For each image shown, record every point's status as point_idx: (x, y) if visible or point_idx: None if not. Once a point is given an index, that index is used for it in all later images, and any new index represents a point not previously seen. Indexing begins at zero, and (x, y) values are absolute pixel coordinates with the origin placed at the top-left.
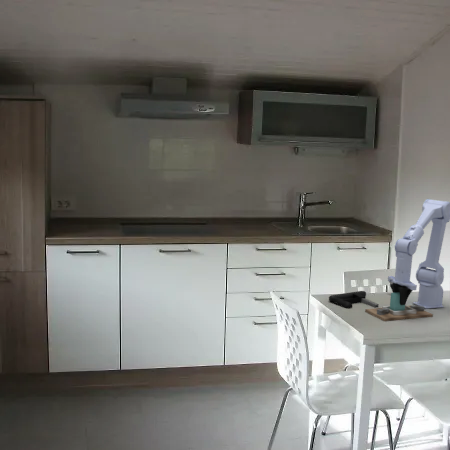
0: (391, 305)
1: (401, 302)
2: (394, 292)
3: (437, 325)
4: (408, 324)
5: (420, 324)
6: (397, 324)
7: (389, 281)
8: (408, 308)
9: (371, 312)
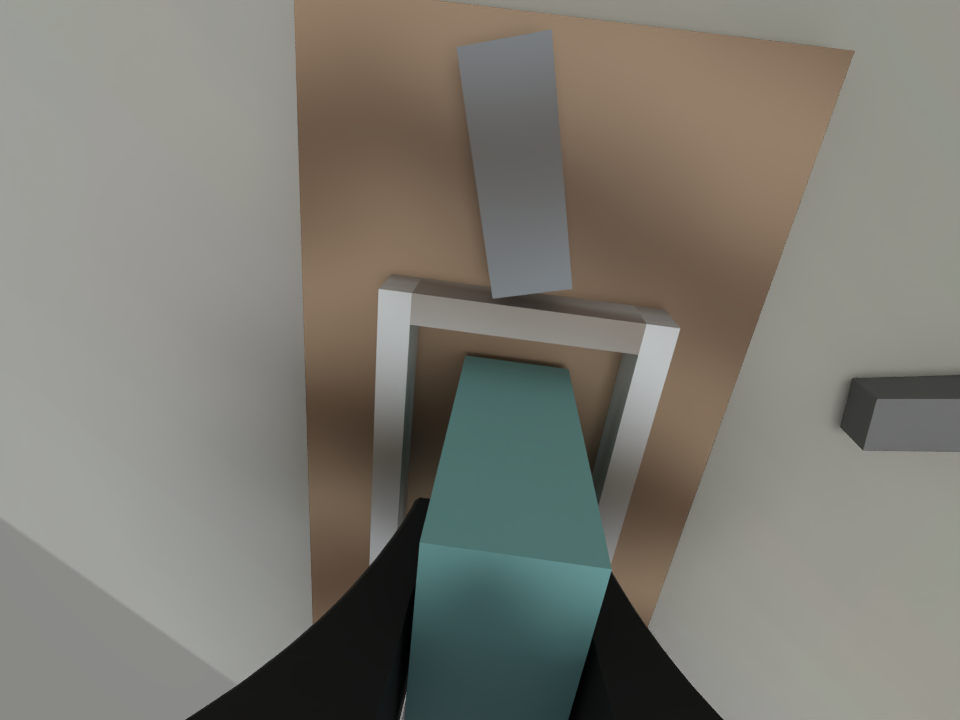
0: (538, 404)
1: (403, 526)
2: (598, 657)
3: (80, 513)
4: (132, 251)
5: (121, 387)
6: (145, 93)
7: None
8: None
9: (668, 31)
